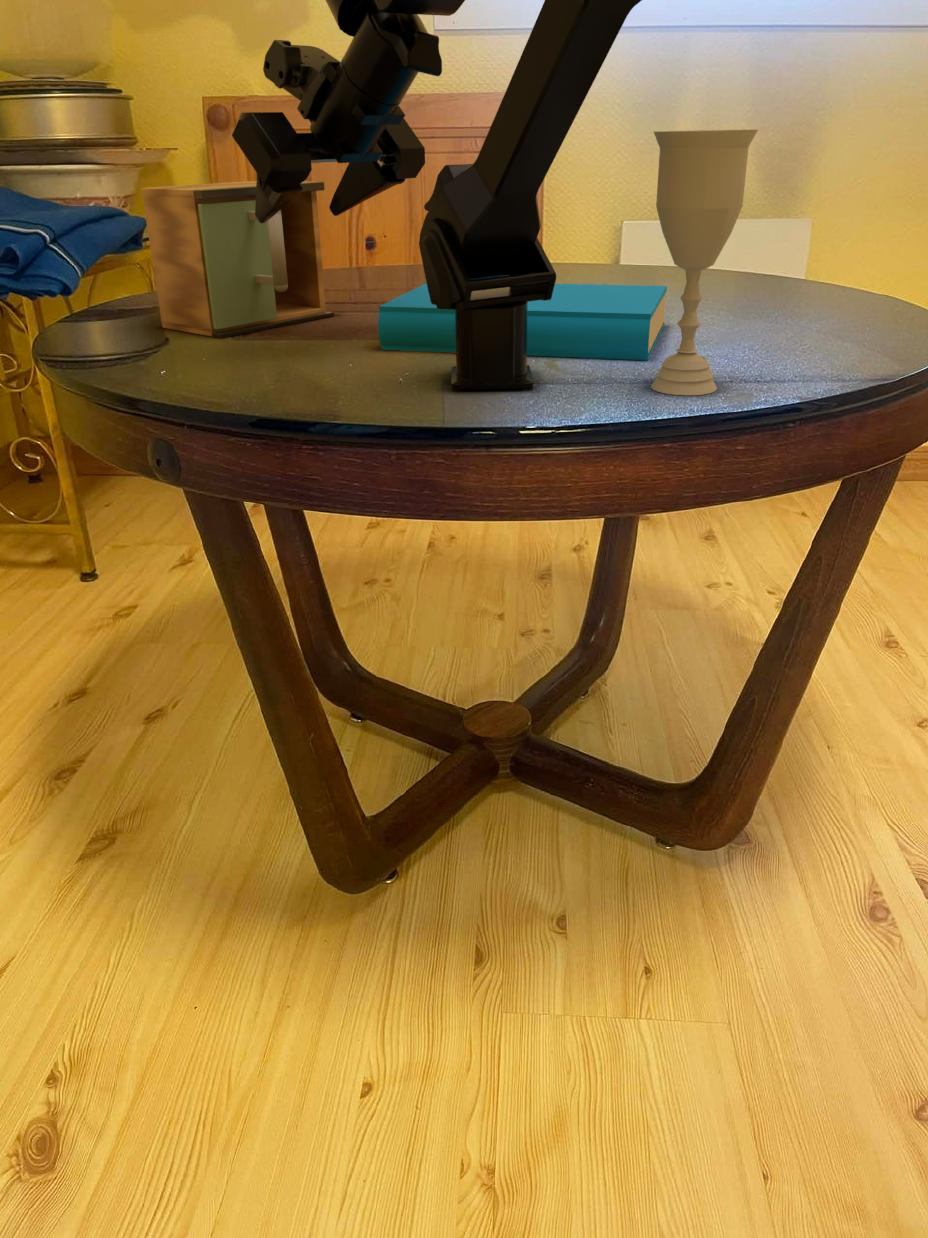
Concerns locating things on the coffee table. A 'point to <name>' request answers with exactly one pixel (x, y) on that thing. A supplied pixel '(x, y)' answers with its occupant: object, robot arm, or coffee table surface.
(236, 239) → the door
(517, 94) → the robot arm
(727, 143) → the chalice
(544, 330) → the book
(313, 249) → the cupboard
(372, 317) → the coffee table surface
